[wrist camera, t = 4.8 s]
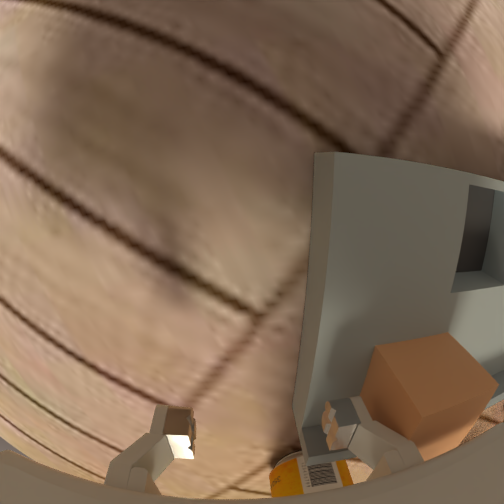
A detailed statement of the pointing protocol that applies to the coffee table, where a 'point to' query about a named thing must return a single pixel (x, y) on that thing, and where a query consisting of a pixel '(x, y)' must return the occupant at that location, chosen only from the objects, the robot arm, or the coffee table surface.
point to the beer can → (307, 476)
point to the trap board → (394, 275)
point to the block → (427, 391)
